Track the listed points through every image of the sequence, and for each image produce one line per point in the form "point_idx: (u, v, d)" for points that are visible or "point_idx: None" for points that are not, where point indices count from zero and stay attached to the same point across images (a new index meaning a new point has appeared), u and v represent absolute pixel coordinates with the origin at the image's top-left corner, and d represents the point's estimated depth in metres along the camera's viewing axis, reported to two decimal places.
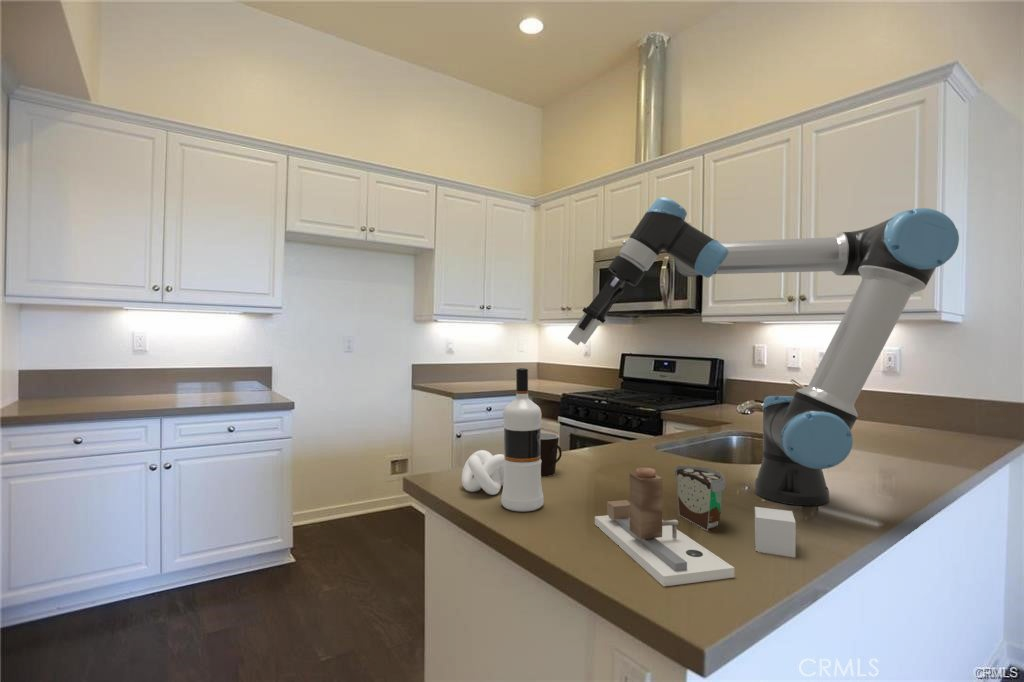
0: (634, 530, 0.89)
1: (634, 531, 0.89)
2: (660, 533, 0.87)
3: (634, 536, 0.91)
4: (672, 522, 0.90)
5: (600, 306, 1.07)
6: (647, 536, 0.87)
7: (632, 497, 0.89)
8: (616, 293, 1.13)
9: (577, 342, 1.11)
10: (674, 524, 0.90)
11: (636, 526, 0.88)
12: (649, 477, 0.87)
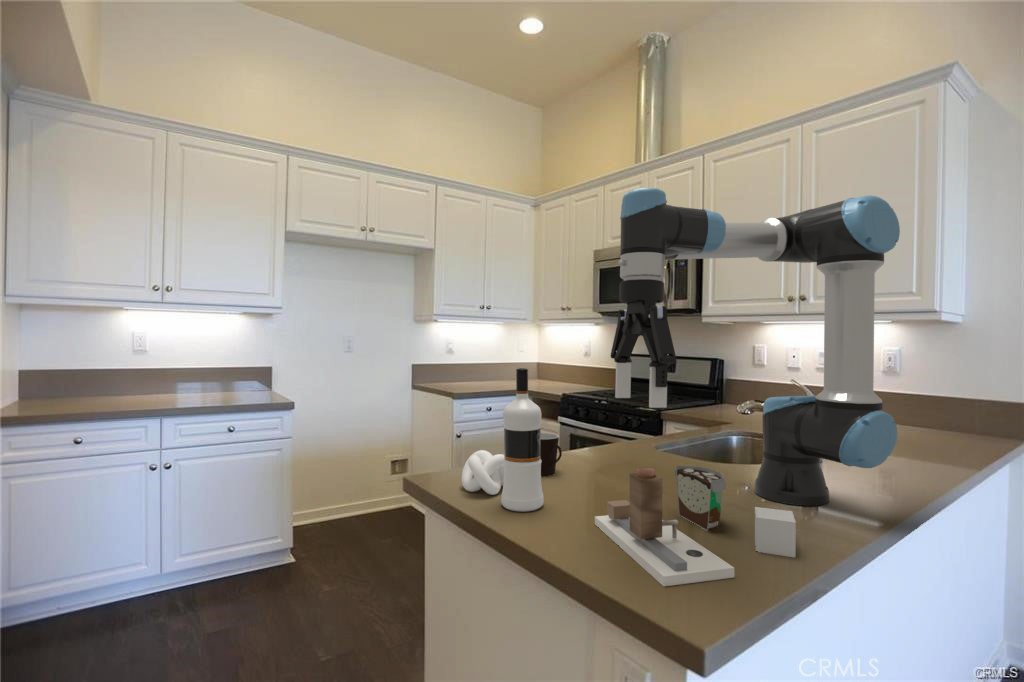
0: (634, 530, 0.89)
1: (634, 531, 0.89)
2: (660, 533, 0.87)
3: (634, 536, 0.91)
4: (672, 522, 0.90)
5: (671, 348, 0.81)
6: (647, 536, 0.87)
7: (632, 497, 0.89)
8: None
9: (664, 404, 0.83)
10: (674, 524, 0.90)
11: (636, 526, 0.88)
12: (649, 477, 0.87)
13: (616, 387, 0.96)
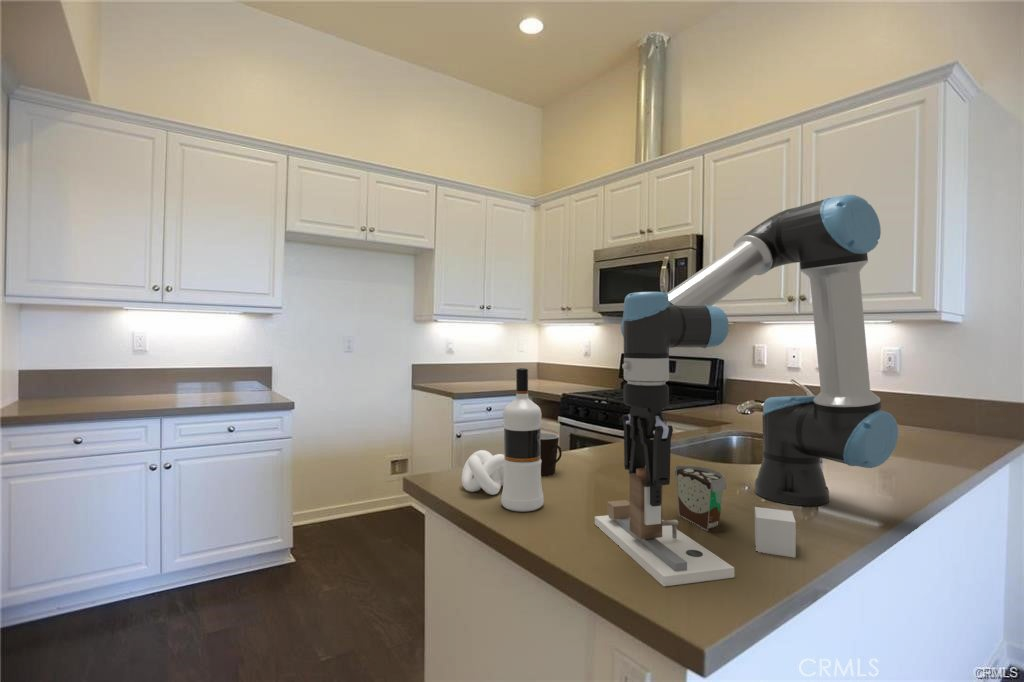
0: (634, 530, 0.89)
1: (634, 531, 0.89)
2: (660, 533, 0.87)
3: (634, 536, 0.91)
4: (672, 522, 0.90)
5: (667, 472, 0.83)
6: (647, 536, 0.87)
7: (632, 497, 0.89)
8: None
9: (659, 521, 0.86)
10: (674, 524, 0.90)
11: (636, 526, 0.88)
12: None
13: None
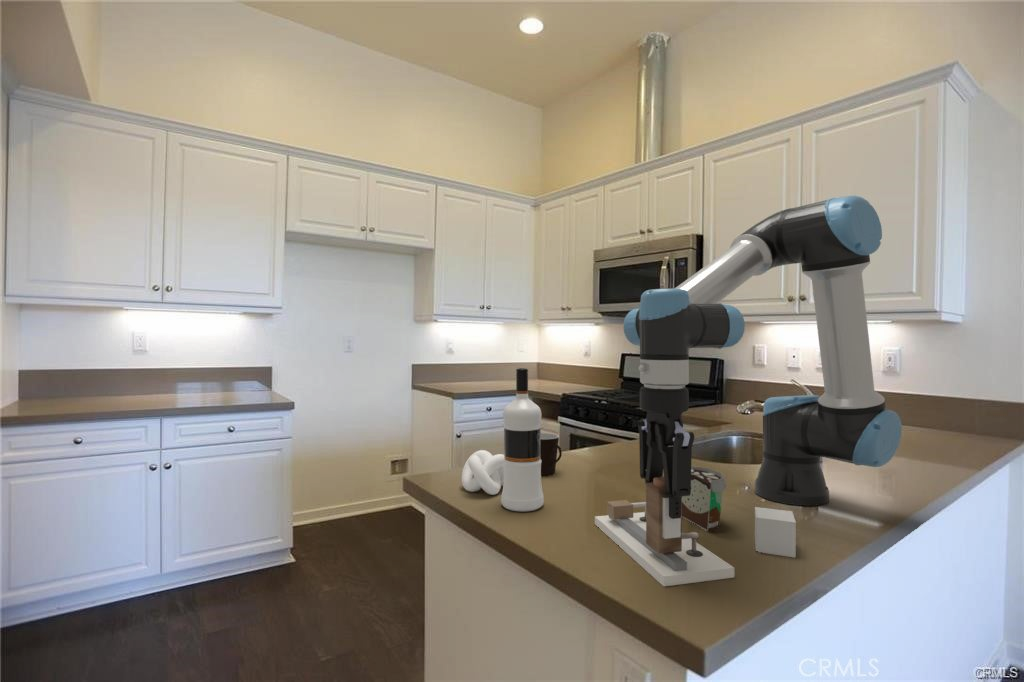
0: (651, 544, 0.83)
1: (651, 545, 0.83)
2: (679, 547, 0.82)
3: (634, 536, 0.91)
4: (692, 535, 0.84)
5: (688, 482, 0.78)
6: (665, 550, 0.81)
7: (649, 508, 0.83)
8: None
9: (678, 534, 0.81)
10: (693, 537, 0.84)
11: (654, 539, 0.82)
12: None
13: None
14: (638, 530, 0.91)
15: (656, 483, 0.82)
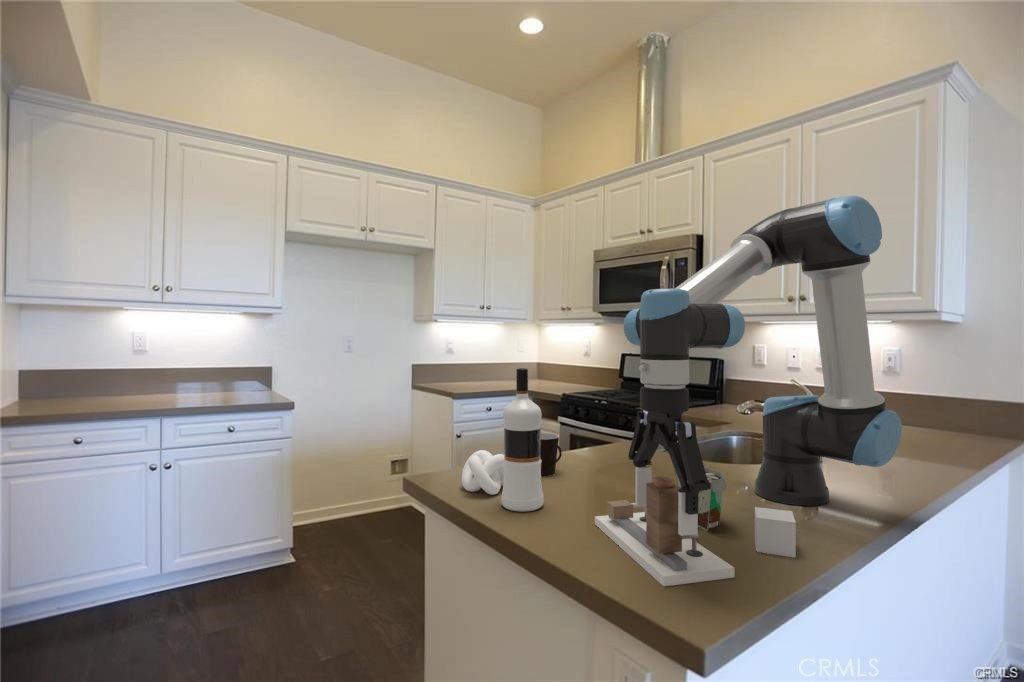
0: (651, 544, 0.83)
1: (651, 545, 0.83)
2: (679, 547, 0.81)
3: (634, 536, 0.91)
4: (692, 535, 0.84)
5: (703, 473, 0.74)
6: (666, 550, 0.81)
7: (649, 508, 0.83)
8: None
9: (695, 531, 0.76)
10: (694, 537, 0.84)
11: (654, 539, 0.82)
12: (668, 487, 0.81)
13: (636, 494, 0.89)
14: (638, 530, 0.91)
15: (656, 483, 0.82)
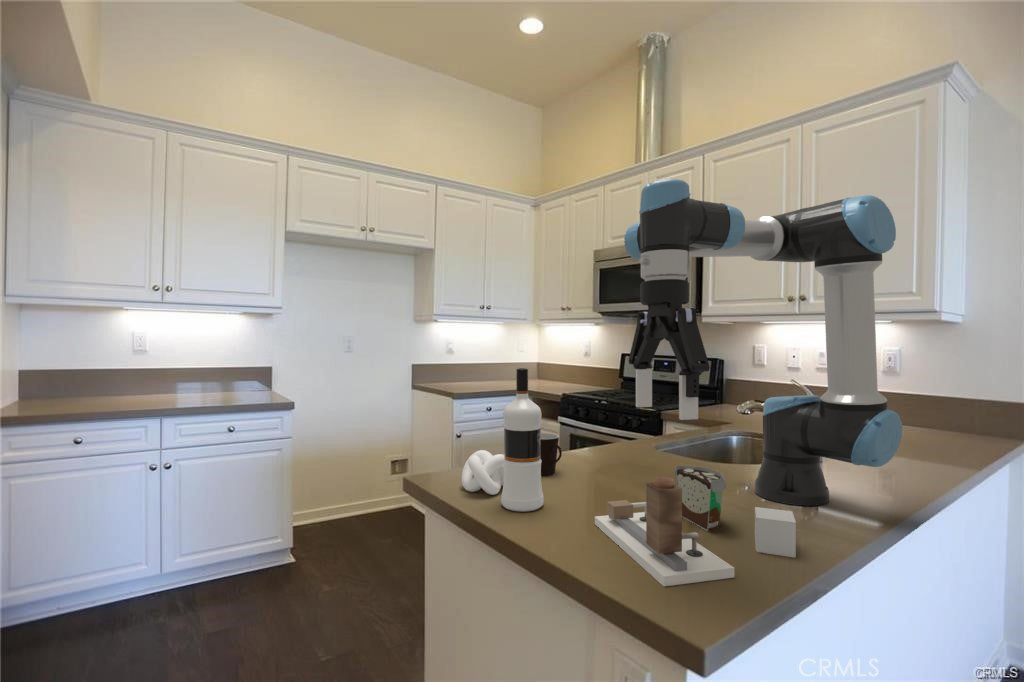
0: (651, 544, 0.83)
1: (651, 545, 0.83)
2: (679, 547, 0.81)
3: (634, 536, 0.91)
4: (692, 535, 0.84)
5: (703, 355, 0.74)
6: (666, 550, 0.81)
7: (649, 508, 0.83)
8: None
9: (696, 415, 0.76)
10: (694, 537, 0.84)
11: (654, 539, 0.82)
12: (668, 487, 0.81)
13: (637, 395, 0.89)
14: (638, 530, 0.91)
15: (656, 483, 0.82)
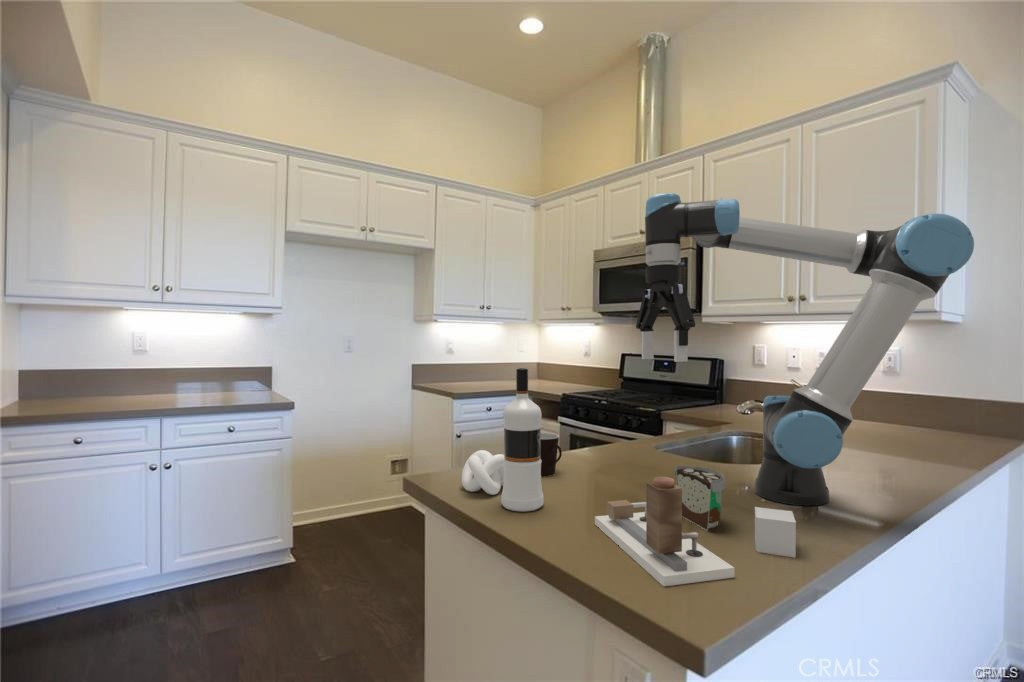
0: (651, 544, 0.83)
1: (651, 545, 0.83)
2: (679, 547, 0.81)
3: (634, 536, 0.91)
4: (692, 535, 0.84)
5: (691, 316, 1.07)
6: (666, 550, 0.81)
7: (649, 508, 0.83)
8: None
9: (686, 359, 1.09)
10: (694, 537, 0.84)
11: (654, 539, 0.82)
12: (668, 487, 0.81)
13: (642, 351, 1.22)
14: (638, 530, 0.91)
15: (656, 483, 0.82)
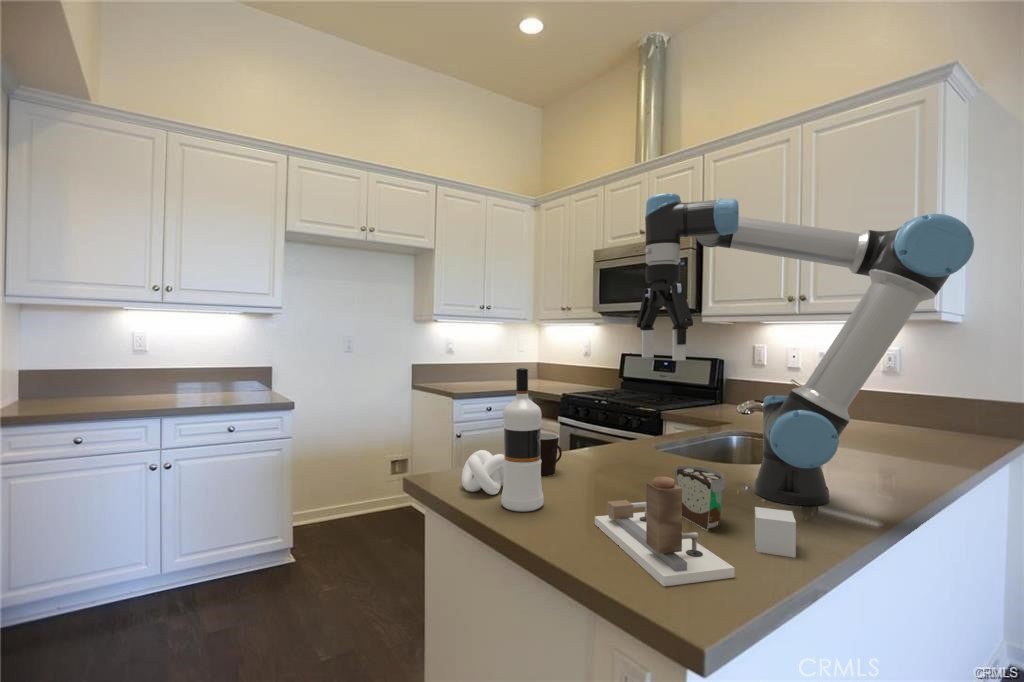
0: (651, 544, 0.83)
1: (651, 545, 0.83)
2: (679, 547, 0.81)
3: (634, 536, 0.91)
4: (692, 535, 0.84)
5: (689, 315, 1.08)
6: (666, 550, 0.81)
7: (649, 508, 0.83)
8: None
9: (684, 357, 1.10)
10: (694, 537, 0.84)
11: (654, 539, 0.82)
12: (668, 487, 0.81)
13: (642, 349, 1.23)
14: (638, 530, 0.91)
15: (656, 483, 0.82)
